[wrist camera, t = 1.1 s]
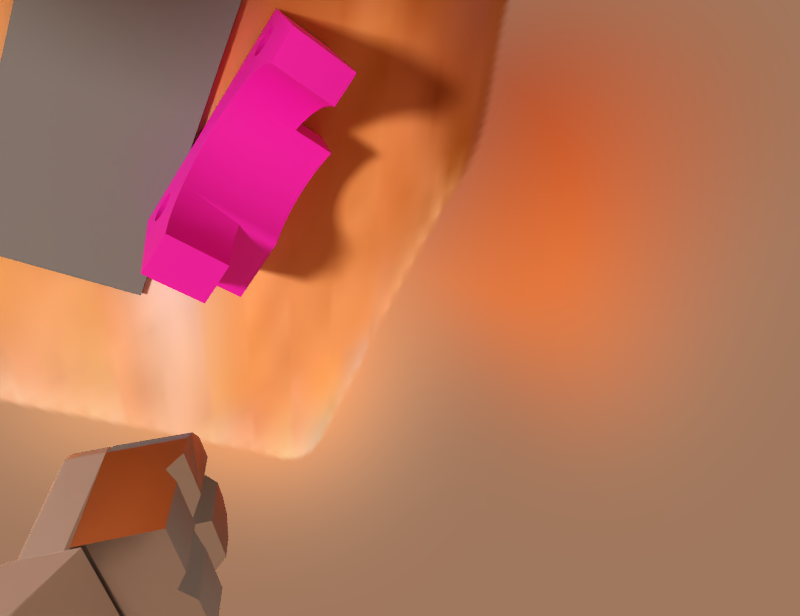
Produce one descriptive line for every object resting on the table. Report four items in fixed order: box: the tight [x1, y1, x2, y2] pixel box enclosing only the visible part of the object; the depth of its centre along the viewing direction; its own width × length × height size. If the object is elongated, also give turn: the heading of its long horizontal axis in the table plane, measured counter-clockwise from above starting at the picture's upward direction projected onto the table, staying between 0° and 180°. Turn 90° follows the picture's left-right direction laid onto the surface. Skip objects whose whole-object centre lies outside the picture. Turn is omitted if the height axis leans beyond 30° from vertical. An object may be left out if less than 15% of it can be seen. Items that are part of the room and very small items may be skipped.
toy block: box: [141, 9, 357, 303], centre depth 38 cm, size 15×6×8 cm, turn 143°
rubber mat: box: [0, 0, 241, 295], centre depth 38 cm, size 10×24×1 cm, turn 155°
